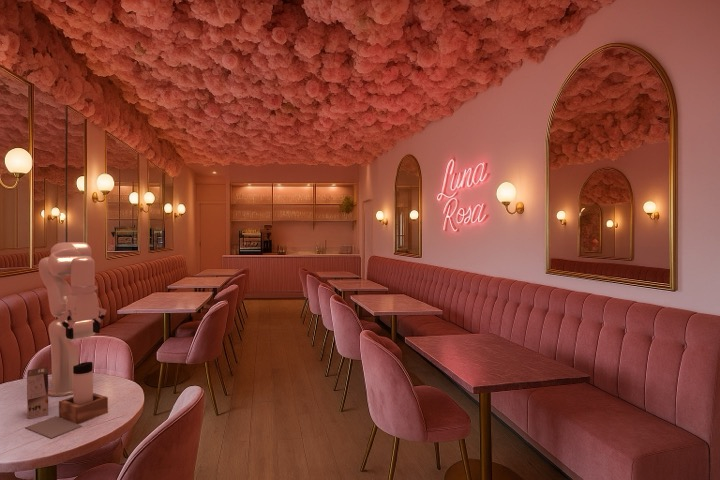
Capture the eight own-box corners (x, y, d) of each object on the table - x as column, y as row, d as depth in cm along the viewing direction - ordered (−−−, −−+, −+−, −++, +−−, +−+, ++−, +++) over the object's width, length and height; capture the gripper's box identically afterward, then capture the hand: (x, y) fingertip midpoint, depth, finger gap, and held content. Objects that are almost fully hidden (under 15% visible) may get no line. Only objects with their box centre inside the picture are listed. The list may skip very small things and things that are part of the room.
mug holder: (59, 417, 160) (58, 401, 160) (88, 406, 170) (88, 391, 169) (78, 424, 154) (78, 407, 154) (107, 412, 164) (107, 397, 164)
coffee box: (48, 414, 162) (48, 373, 161) (27, 419, 158) (26, 376, 157) (48, 406, 169) (47, 366, 168) (27, 410, 165) (27, 369, 165)
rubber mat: (25, 428, 151) (25, 427, 151) (56, 417, 160) (56, 416, 160) (51, 439, 144) (51, 437, 144) (81, 426, 153) (81, 425, 153)
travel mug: (84, 419, 158) (83, 366, 158) (69, 417, 160) (68, 364, 159) (97, 412, 164) (97, 360, 164) (83, 410, 166) (82, 359, 165)
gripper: (99, 287, 170) (99, 329, 170) (52, 292, 154) (52, 339, 155) (111, 288, 167) (111, 331, 167) (64, 294, 151) (65, 342, 152)
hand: (83, 335), depth 161 cm, fingers open, 9 cm apart
